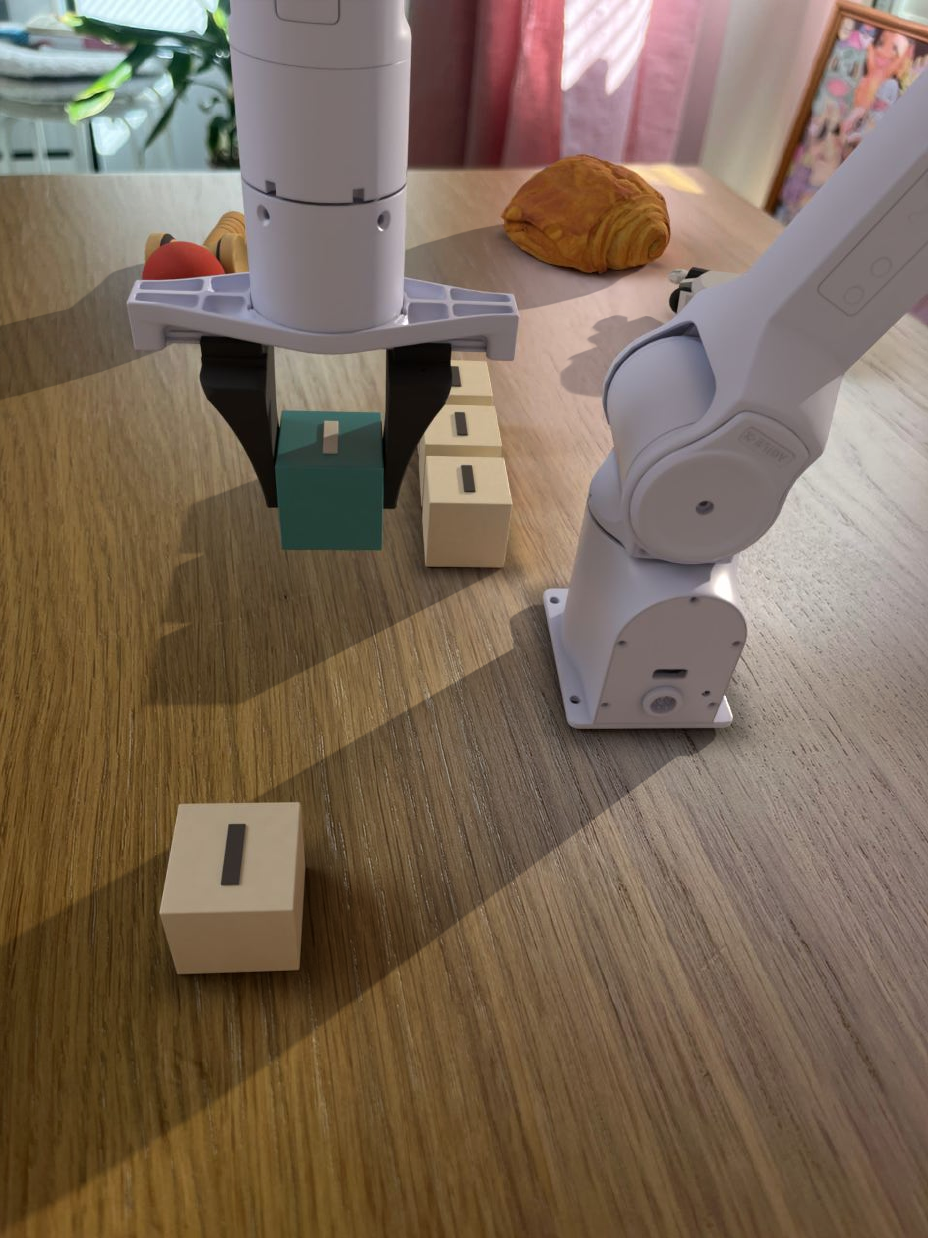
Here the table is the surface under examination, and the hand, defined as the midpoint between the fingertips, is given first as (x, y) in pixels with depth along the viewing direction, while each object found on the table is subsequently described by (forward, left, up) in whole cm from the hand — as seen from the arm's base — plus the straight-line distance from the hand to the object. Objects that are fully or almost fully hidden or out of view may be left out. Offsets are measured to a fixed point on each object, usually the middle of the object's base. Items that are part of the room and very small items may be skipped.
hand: (333, 495), depth 41 cm
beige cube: (+7, -7, -8) cm, 13 cm away
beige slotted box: (-16, +3, -8) cm, 18 cm away
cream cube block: (+18, -7, -8) cm, 21 cm away
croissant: (+52, -21, -9) cm, 56 cm away
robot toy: (+35, -33, -9) cm, 49 cm away
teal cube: (0, 0, -1) cm, 1 cm away
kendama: (+39, +11, -9) cm, 41 cm away
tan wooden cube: (+13, -7, -8) cm, 17 cm away
